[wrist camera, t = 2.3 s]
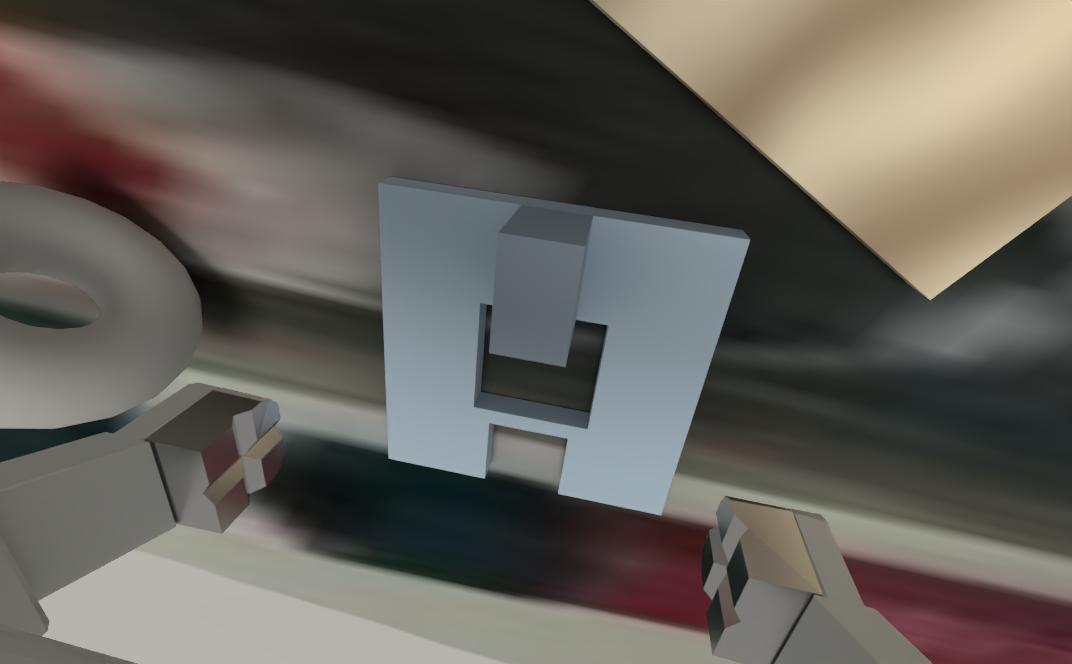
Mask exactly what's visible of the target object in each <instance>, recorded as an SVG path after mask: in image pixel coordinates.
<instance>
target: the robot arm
mask: <svg viewBox="0 0 1072 664" xmlns="http://www.w3.org/2000/svg"><path fill="white" fill-rule="evenodd" d="M279 419H280V413H279V408H278V404H277V403H276V402H274V401H272V400H271V399H268V398H263V397H259V396H255V395H251V394H247V393H242V392H238V391H234V390H230V389H226V388H219V387H215V386H211V385H207V384H203V383H194V384H188V385H187V386H185V387H184V388H182V389H181V390H179V391H178V392H176V393H175V394H173V395H172V396H170V397H169V398H167V399H166V400H164V401H163V402H161V403H160V404H158V405H157V406H155V407H154V408H152V409H150V410H149V411H147V412H146V413H144V414H143V415H141V416H140V417H138V418H137V419H135V420H134V421H132V422H131V423H129V424H128V425H126V426H125V427H123V428H122V429H120V430H119V431H117V432H116V433H114V434H112V433H107V432H104V433H101V434H97V435H94V436H90V437H87V438H84V439H80V440H77V441H73V442H70V443H66V444H63V445H60V446H56V447H53V448H49V449H46V450H42V451H39V452H36V453H32V454H29V455H25V456H22V457H18V458H15V459H12V460H8V461H5V462H1V463H0V664H137V663H133V662H130V661H126V660H123V659H119V658H116V657H112V656H109V655H105V654H101V653H98V652H94V651H91V650H87V649H84V648H81V647H77V646H74V645H70V644H66V643H63V642H59V641H56V640H52V639H49V638H45V637H42V635H43V634H44V633H45V632H47V630H48V625H49V620H48V618H47V616H46V615H45V613H44V611H43V609H42V607H41V606H40V604H39V602H38V600H40V599H42V598H44V597H46V596H48V595H50V594H52V593H53V592H55V591H57V590H59V589H60V588H62V587H65V586H67V585H68V584H70V583H72V582H74V581H76V580H78V579H79V578H81V577H83V576H85V575H87V574H89V573H90V572H92V571H94V570H96V569H98V568H100V567H102V566H104V565H105V564H107V563H109V562H111V561H113V560H115V559H117V558H119V557H120V556H122V555H124V554H126V553H128V552H130V551H132V550H133V549H135V548H137V547H139V546H141V545H143V544H145V543H146V542H148V541H150V540H152V539H154V538H156V537H158V536H159V535H161V534H163V533H165V532H167V531H169V530H170V529H172V528H174V527H176V524H180V525H185V526H189V527H194V528H199V529H203V530H208V531H213V532H217V533H223V532H224V531H225V530H226V529H227V528H228V527H229V525H230V524H231V523H232V522H233V521H234V520H235V519H236V518H237V517H238V516H239V515H240V514H241V513H242V512H243V510H244V509H245V508H246V507H247V506H248V505H249V497H250V493H252V492H254V491H256V490H259V489H261V488H263V487H265V486H267V484H268V483H269V482H270V481H271V480H272V479H273V478H274V477H275V475H276V474H277V472H278V470H279V468H280V466H281V464H282V461H283V459H284V451H285V444H284V437H283V436H282V434H281V433H280V432H279V431H278V429H277V428H276V427H275V424H276V423H277V422H278V421H279ZM716 514H717V519H718V525H719V526H717V527H715V528H713V529H712V530H710V531H709V532H708V535H707V538H706V541H705V544H704V549H703V556H702V581H703V589H704V590H705V591H706V593H707V594H708V595H709V597H710V598H711V599H712V603H711V605H710V607H709V610H708V612H707V619H708V627H709V634H710V641H711V648H712V655H714V656H718V657H721V658H725V659H728V660H732V661H736V662H739V663H743V664H932V663H931V662H930V661H929V660H928V659H927V658H926V657H925V656H924V655H923V654H922V653H921V652H920V651H919V650H918V649H917V648H916V647H914V646H913V645H912V644H911V643H910V642H909V641H908V640H907V639H906V638H905V637H904V636H903V635H902V634H901V633H900V632H899V631H898V630H897V629H896V628H895V627H893V626H892V625H891V624H890V623H889V622H888V621H887V620H886V619H885V618H884V617H883V616H882V615H881V614H880V613H879V612H878V611H877V610H876V609H873V608H869V607H865V606H864V604H863V602H862V600H861V598H860V595H859V593H858V591H857V589H856V586H855V584H854V582H853V580H852V577H851V575H850V573H849V571H848V568H847V566H846V564H845V562H844V560H843V557H842V555H841V553H840V551H839V548H838V546H837V544H836V542H835V539H834V537H833V535H832V533H831V530H830V528H829V526H828V524H827V521H826V520H825V519H824V518H823V517H822V516H821V515H820V514H815V513H810V512H804V511H799V510H794V509H789V508H788V509H785V508H782V507H777V506H772V505H767V504H762V503H757V502H752V501H747V500H743V499H738V498H733V497H728V496H725V497H724V498H723V499H722V501H721V502H720V505H719V507H718V509H717V512H716Z"/></svg>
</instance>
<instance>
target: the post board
mask: <svg viewBox="0 0 1072 664" xmlns="http://www.w3.org/2000/svg"><path fill="white" fill-rule="evenodd" d="M589 1H590V2H591V3H592V4H593V5H594V6H596V7H597V8H598V9H599V10H600V11H601V12H602V13H603V14H605V15H606V16H607V17H608V18H609V19H610V20H611V21H612V22H614V23H615V24H616V25H617V26H618V27H619V28H620V29H621V30H623V31H624V32H625V33H626V34H627V35H628V36H629V37H630V38H632V39H633V40H634V41H635V42H636V43H637V44H638V45H639V46H641V47H642V48H643V49H644V50H645V51H646V52H647V53H649V54H650V55H651V56H652V57H653V58H654V59H655V60H656V61H658V62H659V63H660V64H661V65H662V66H663V67H664V68H665V69H667V70H668V71H669V72H670V73H671V74H672V75H673V76H674V77H676V78H677V79H678V80H679V81H680V82H681V83H682V84H683V85H685V86H686V87H687V88H688V89H689V90H690V91H691V92H692V93H694V94H695V95H696V96H697V97H698V98H699V99H700V100H701V101H703V102H704V103H705V104H706V105H707V106H708V107H709V108H710V109H712V110H713V111H714V112H715V113H716V114H717V115H718V116H719V117H721V118H722V119H723V120H724V121H725V122H726V123H727V124H728V125H730V126H731V127H732V128H733V129H734V130H735V131H736V132H737V133H739V134H740V135H741V136H742V137H743V138H744V139H745V140H746V141H748V142H749V143H750V144H751V145H752V146H753V147H754V148H755V149H757V150H758V151H759V152H760V153H761V154H762V155H763V156H765V157H766V158H767V159H768V160H769V161H770V162H771V163H772V164H774V165H775V166H776V167H777V168H778V169H779V170H780V171H781V172H783V173H784V174H785V175H786V176H787V177H788V178H789V179H790V180H792V181H793V182H794V183H795V184H796V185H797V186H798V187H799V188H801V189H802V190H803V191H804V192H805V193H806V194H807V195H808V196H810V197H811V198H812V199H813V200H814V201H815V202H816V203H817V204H819V205H820V206H821V207H822V208H823V209H824V210H825V211H826V212H828V213H829V214H830V215H831V216H832V217H833V218H834V219H835V220H837V221H838V222H839V223H840V224H841V225H842V226H843V227H844V228H846V229H847V230H848V231H849V232H850V233H851V234H852V235H853V236H855V237H856V238H857V239H858V240H859V241H860V242H861V243H862V244H864V245H865V246H866V247H867V248H868V249H869V250H870V251H872V252H873V253H874V254H875V255H876V256H877V257H878V258H879V259H881V260H882V261H883V262H884V263H885V264H886V265H887V266H888V267H890V268H891V269H892V270H893V271H894V272H895V273H896V274H897V275H899V276H900V277H901V278H902V279H903V280H904V281H905V282H906V283H908V284H909V285H910V286H912V287H913V288H914V289H916V290H917V291H918V292H920V293H921V294H922V295H924V296H925V297H926V298H928V299H929V300H931V299H932V298H934V297H935V296H936V295H938V294H939V293H940V292H942V291H943V290H944V289H946V288H947V287H949V286H950V285H951V284H953V283H954V282H955V281H957V280H958V279H959V278H961V277H962V276H963V275H965V274H966V273H967V272H969V271H970V270H972V269H973V268H974V267H976V266H977V265H978V264H980V263H981V262H982V261H984V260H985V259H986V258H988V257H989V256H990V255H992V254H993V253H994V252H996V251H997V250H999V249H1000V248H1001V247H1003V246H1004V245H1005V244H1007V243H1008V242H1009V241H1011V240H1012V239H1013V238H1015V237H1016V236H1017V235H1019V234H1020V233H1022V232H1023V231H1024V230H1026V229H1027V228H1028V227H1030V226H1031V225H1032V224H1034V223H1035V222H1036V221H1038V220H1039V219H1040V218H1042V217H1043V216H1045V215H1046V214H1047V213H1049V212H1050V211H1051V210H1053V209H1054V208H1055V207H1057V206H1058V205H1059V204H1061V203H1062V202H1063V201H1065V200H1066V199H1068V198H1069V197H1070V196H1072V0H589Z"/></svg>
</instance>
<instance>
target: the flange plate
mask: <svg viewBox="0 0 1072 664" xmlns="http://www.w3.org/2000/svg"><path fill="white" fill-rule="evenodd" d="M378 206H379V231H380V256H381V281H382V305H383V330H384V355H385V380H386V405H387V430H388V455H389V459H393V460H398V461H403V462H408V463H413V464H417V465H422V466H427V467H432V468H437V469H441V470H446V471H451V472H456V473H461V474H465V475H470V476H475V477H480V478H485V476H486V474H487V471H488V468H489V465H490V463H491V455H492V444H493V433H494V424H496V425H501V426H506V427H511V428H516V429H521V430H526V431H531V432H536V433H542V434H547V435H552V436H557V437H562V438H567V439H568V440H567V446H566V451H565V457H564V462H563V468H562V473H561V479H560V485H559V491H558V494H561V495H566V496H571V497H576V498H580V499H585V500H590V501H595V502H600V503H604V504H609V505H614V506H619V507H624V508H628V509H633V510H638V511H643V512H648V513H652V514H657V515H661V513H662V510H663V507H664V504H665V501H666V498H667V495H668V492H669V489H670V485H671V482H672V479H673V476H674V473H675V470H676V467H677V464H678V461H679V458H680V455H681V452H682V449H683V445H684V442H685V439H686V436H687V433H688V430H689V427H690V424H691V421H692V418H693V415H694V412H695V409H696V405H697V402H698V399H699V396H700V393H701V390H702V387H703V384H704V381H705V378H706V375H707V372H708V369H709V366H710V362H711V359H712V356H713V353H714V350H715V347H716V344H717V341H718V338H719V335H720V332H721V329H722V326H723V322H724V319H725V316H726V313H727V310H728V307H729V304H730V301H731V298H732V295H733V292H734V289H735V286H736V282H737V279H738V276H739V273H740V270H741V267H742V264H743V261H744V258H745V255H746V252H747V249H748V246H749V242H750V239H749V237H748V236H747V235H746V233H745V232H744V231H743V230H739V229H733V228H726V227H720V226H713V225H706V224H700V223H693V222H687V221H680V220H673V219H667V218H660V217H654V216H647V215H640V214H634V213H627V212H621V211H614V210H607V209H601V208H594V207H588V206H581V205H574V204H568V203H561V202H555V201H548V200H541V199H535V198H528V197H521V196H515V195H508V194H502V193H495V192H488V191H482V190H475V189H469V188H462V187H455V186H449V185H442V184H436V183H429V182H422V181H416V180H409V179H403V178H396V177H390V178H388V179H385V180H383V181H381V182H378ZM487 304H488V305H493V307H492V320H491V333H490V346H489V353H491V354H497V355H502V356H508V357H513V358H519V359H524V360H529V361H535V362H540V363H546V364H551V365H557V366H562V367H566V362H567V358H568V353H569V349H570V344H571V340H572V335H573V331H574V326H575V322H576V320H580V321H586V322H592V323H597V324H603V325H607V329H606V334H605V339H604V344H603V349H602V354H601V359H600V364H599V369H598V374H597V378H596V383H595V388H594V393H593V398H592V403H591V408H590V413H589V412H584V411H579V410H573V409H568V408H563V407H558V406H553V405H547V404H542V403H537V402H532V401H526V400H521V399H516V398H511V397H506V396H500V395H495V394H490V393H485V392H481V382H482V368H483V354H484V340H485V325H486V311H487Z"/></svg>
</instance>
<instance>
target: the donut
mask: <svg viewBox="0 0 1072 664" xmlns="http://www.w3.org/2000/svg"><path fill="white" fill-rule="evenodd" d="M5 272H29V273H35V274H40V275H46V276H51V277H54V278H57V279H60V280H62V281H65V282H68V283H70V284H72V285H74V286H76V287H77V288H79V289H81V290H82V291H84V292H85V293H87V294H88V295H89V296H90V297H91V298H92V299H93V300H94V301H95V302H96V303H97V305H98V307H99V309H100V316H99V318H98V319H97V320H96V321H95V322H93V323H92V324H90V325H87V326H84V327H81V328H70V329H50V328H41V327H33V326H29V325H25V324H22V323H19V322H16V321H13V320H10V319H6V318H4V317H3V316H1V315H0V428H38V429H53V428H60V427H65V426H70V425H75V424H80V423H85V422H90V421H95V420H100V419H105V418H110V417H114V416H116V415H118V414H120V413H122V412H124V411H126V410H129V409H131V408H133V407H135V406H137V405H139V404H141V403H143V402H145V401H147V400H149V399H152V398H154V397H156V396H157V395H158V394H159V393H161V392H162V391H163V390H164V389H165V388H166V387H167V386H168V385H169V384H170V383H171V382H172V381H173V380H174V379H175V378H176V377H177V376H178V375H180V374H181V373H182V372H183V371H184V370H185V369H186V368H187V367H188V366H189V364H190V361H191V359H192V356H193V354H194V351H195V349H196V347H197V344H198V342H199V339H200V337H201V334H202V331H203V326H202V311H201V301H200V297H199V294H198V292H197V290H196V288H195V286H194V284H193V282H192V280H191V278H190V276H189V274H188V272H187V270H186V268H185V267H184V266H183V265H182V264H181V263H180V261H179V260H178V259H177V258H176V257H175V256H174V255H173V254H172V253H171V252H170V251H169V250H168V249H167V248H166V247H165V246H164V244H163V243H162V242H161V241H159V240H158V239H156V238H155V237H153V236H152V235H150V234H149V233H148V232H146V231H145V230H143V229H142V228H140V227H139V226H137V225H136V224H134V223H133V222H131V221H130V220H129V219H127V218H126V217H124V216H122V215H119V214H117V213H115V212H113V211H111V210H108V209H106V208H104V207H102V206H100V205H97V204H95V203H93V202H91V201H89V200H86V199H84V198H80V197H77V196H73V195H70V194H66V193H62V192H59V191H55V190H52V189H48V188H44V187H41V186H37V185H29V184H21V183H12V182H4V181H0V273H5Z"/></svg>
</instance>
